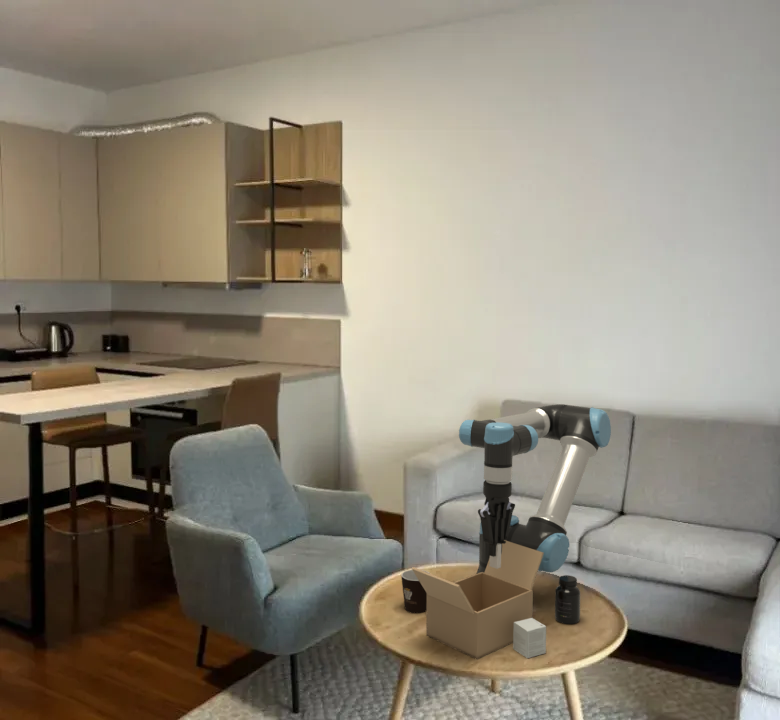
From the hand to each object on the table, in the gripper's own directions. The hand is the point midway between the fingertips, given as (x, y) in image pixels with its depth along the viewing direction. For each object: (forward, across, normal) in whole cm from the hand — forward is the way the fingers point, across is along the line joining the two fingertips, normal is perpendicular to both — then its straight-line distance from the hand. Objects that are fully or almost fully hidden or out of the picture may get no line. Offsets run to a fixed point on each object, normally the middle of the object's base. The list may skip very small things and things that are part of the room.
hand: (495, 566), depth 216 cm
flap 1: (+1, +20, 0) cm, 20 cm away
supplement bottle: (+17, -20, +10) cm, 28 cm away
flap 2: (+1, -8, 0) cm, 8 cm away
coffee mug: (+18, +7, -22) cm, 29 cm away
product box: (+18, +3, +15) cm, 23 cm away
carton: (+17, +6, 0) cm, 18 cm away
